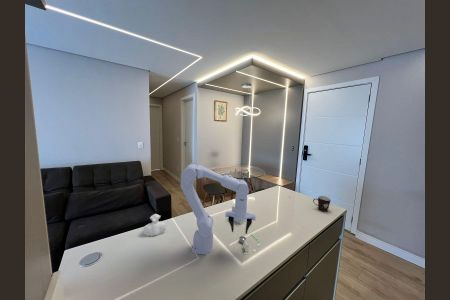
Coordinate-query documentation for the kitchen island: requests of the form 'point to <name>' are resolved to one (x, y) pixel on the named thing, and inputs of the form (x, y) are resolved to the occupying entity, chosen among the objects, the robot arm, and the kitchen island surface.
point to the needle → (244, 243)
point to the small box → (237, 218)
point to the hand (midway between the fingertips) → (239, 231)
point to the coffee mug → (323, 203)
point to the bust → (155, 226)
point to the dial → (257, 241)
